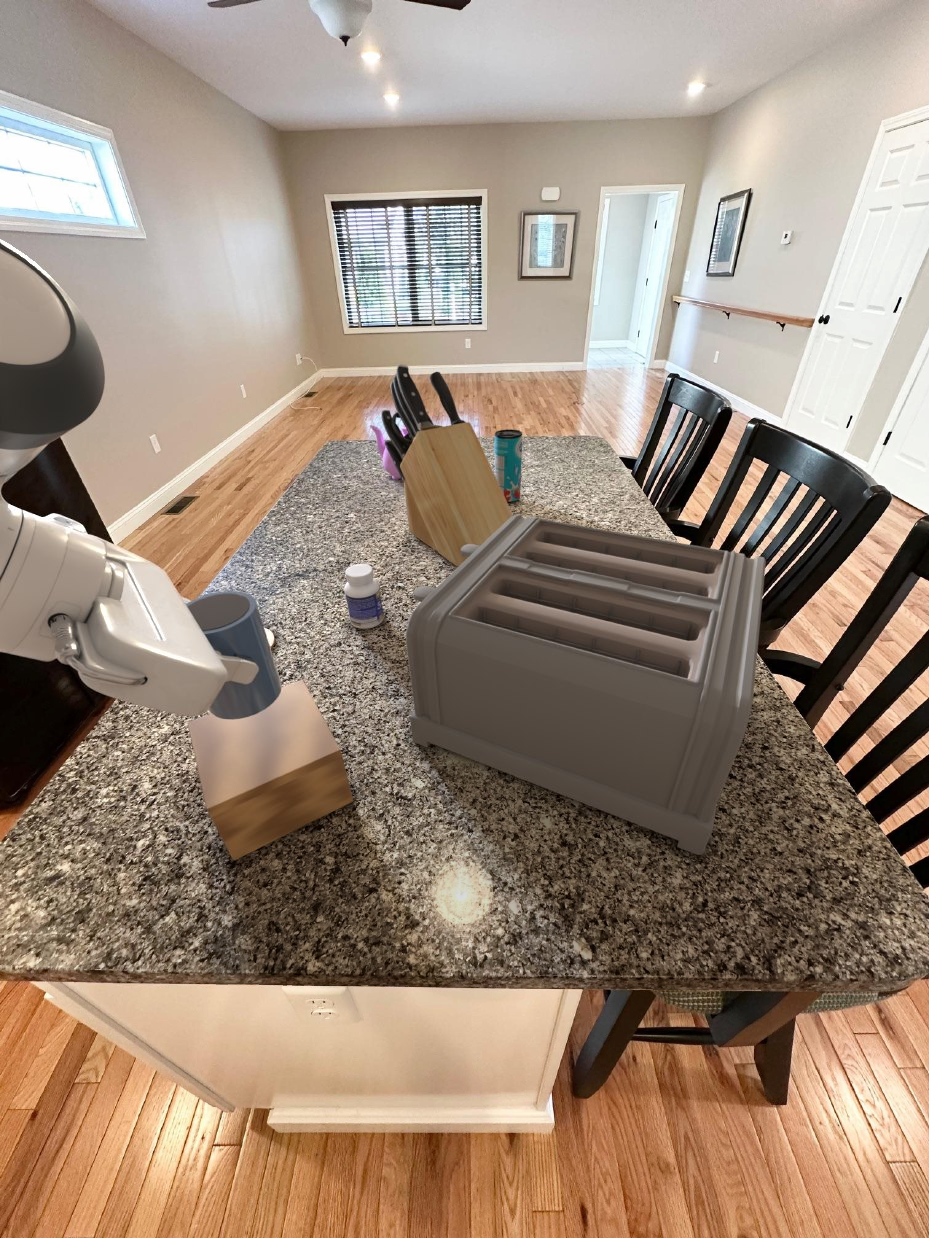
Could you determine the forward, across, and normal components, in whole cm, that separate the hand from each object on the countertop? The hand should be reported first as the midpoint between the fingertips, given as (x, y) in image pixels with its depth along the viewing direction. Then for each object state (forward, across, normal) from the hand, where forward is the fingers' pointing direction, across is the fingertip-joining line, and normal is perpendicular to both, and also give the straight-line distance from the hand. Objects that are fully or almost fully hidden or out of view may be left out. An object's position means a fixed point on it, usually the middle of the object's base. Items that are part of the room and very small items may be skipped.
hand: (237, 649), depth 44 cm
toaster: (+37, -9, -10) cm, 40 cm away
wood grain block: (+13, +1, +14) cm, 19 cm away
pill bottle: (+29, +22, -2) cm, 37 cm away
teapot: (+57, +74, -32) cm, 99 cm away
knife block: (+48, +35, -21) cm, 63 cm away
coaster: (+16, +28, +10) cm, 34 cm away
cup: (+3, 0, +4) cm, 5 cm away
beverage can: (+63, +44, -37) cm, 85 cm away
